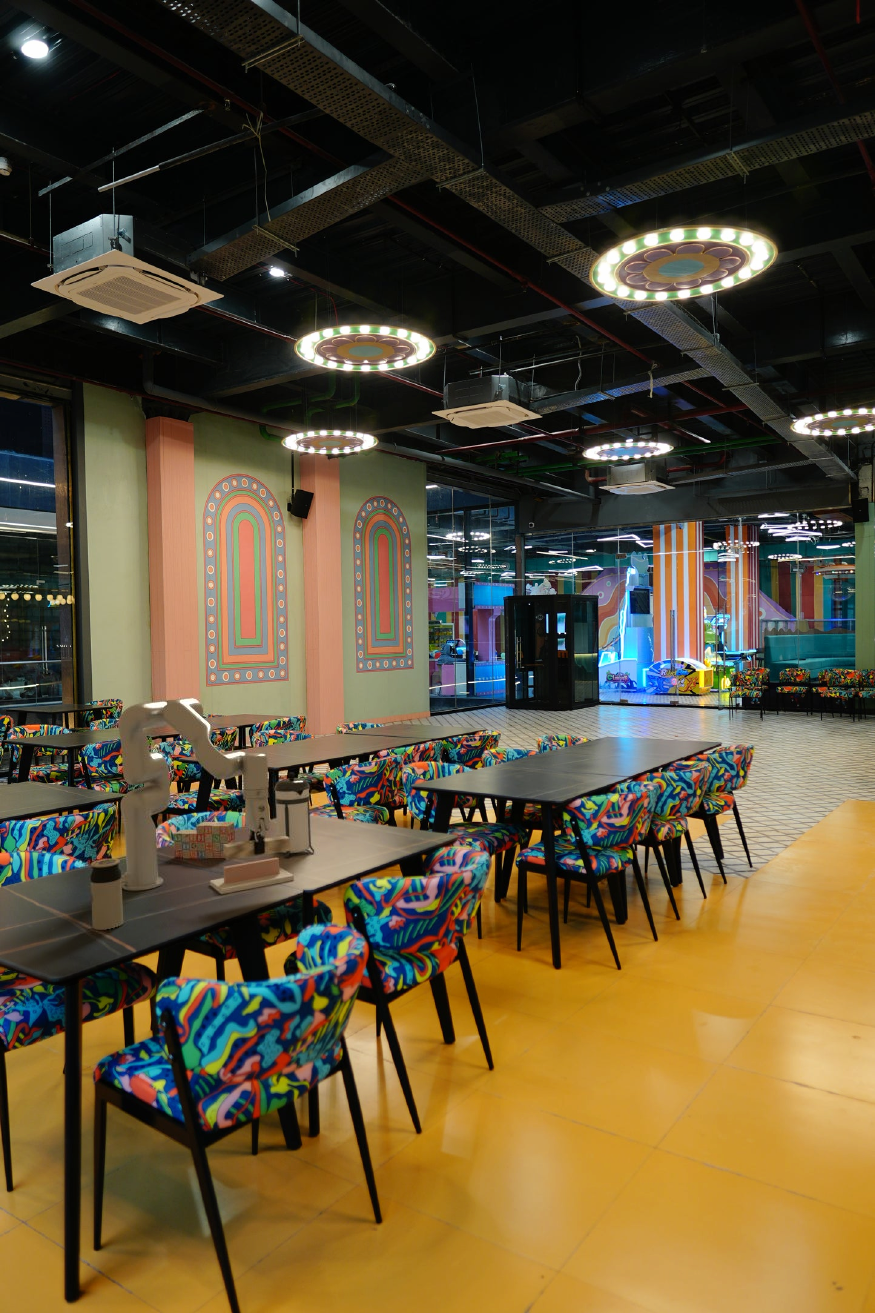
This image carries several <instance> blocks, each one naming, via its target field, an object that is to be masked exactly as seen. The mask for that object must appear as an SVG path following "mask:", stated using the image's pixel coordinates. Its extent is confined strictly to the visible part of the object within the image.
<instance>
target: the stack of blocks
mask: <svg viewBox="0 0 875 1313" xmlns="http://www.w3.org/2000/svg"><path fill="white" fill-rule="evenodd" d="M195 827H196V829H180V830H178V831H177V832H174V833H173V841H174V843H173V845H174V858H175V857H178V858H177V859H204V858H205V859H206V858H224V857H223V844H230V843H236V839H235V838H236V832H235V822H227V821H203V822H200V823H198V824H197V825H196V826H195ZM179 857H180V858H179ZM182 857H183V858H182Z"/></svg>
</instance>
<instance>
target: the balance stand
mask: <svg viewBox="0 0 875 1313" xmlns="http://www.w3.org/2000/svg"><path fill="white" fill-rule="evenodd" d="M222 871H223V877H222V878H217V879H210V880H209V885H210V886H211V887H212V888H213V889H214V890H216V891H217V892H218V893H219V894H220V895H223V894H224V895H225V894H229V893H236V892H239V891H245V890H249V889H255V888H260V887H265V886H271V885H276V884H281V883H287V882H292V881H294V880H295V875H294V874H292V873H290V872H289V871H287V870H285V869H284V868H282V867H280V858H279V857H273V858H267V859H260V860H255V861H249V862H244V863H239V864H232V865H227V866H223V868H222ZM291 880H292V881H291Z"/></svg>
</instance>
